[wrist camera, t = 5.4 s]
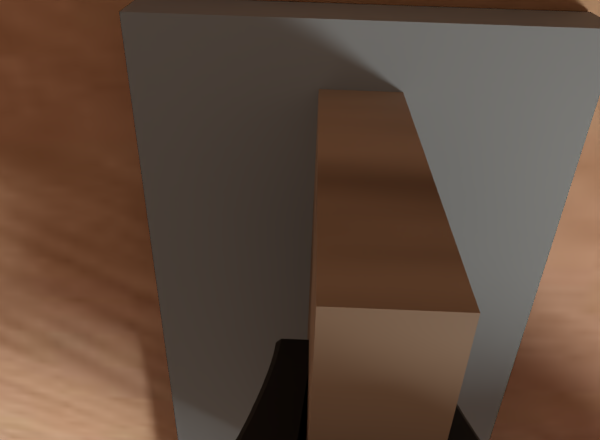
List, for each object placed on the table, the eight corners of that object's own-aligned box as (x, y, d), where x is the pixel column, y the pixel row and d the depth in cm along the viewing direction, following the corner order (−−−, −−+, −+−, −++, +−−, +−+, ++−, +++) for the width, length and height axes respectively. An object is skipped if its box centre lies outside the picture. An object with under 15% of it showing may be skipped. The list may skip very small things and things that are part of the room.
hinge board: (452, 492, 22) (479, 623, 18) (196, 480, 22) (170, 608, 19) (590, 12, 13) (706, 78, 9) (138, -4, 13) (61, 55, 9)
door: (276, 87, 12) (234, 303, 6) (445, 93, 12) (562, 316, 6) (274, 462, 19) (253, 732, 13) (382, 467, 19) (409, 740, 13)
